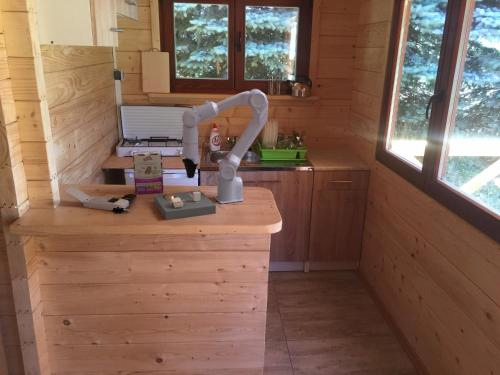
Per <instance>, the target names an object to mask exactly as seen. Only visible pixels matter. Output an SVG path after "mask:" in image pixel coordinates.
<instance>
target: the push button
mask: <svg viewBox="0 0 500 375" xmlns="http://www.w3.org/2000/svg"><path fill="white" fill-rule="evenodd" d="M165 194H166V195H165V200H167V199H171V198H175V195H173V194H170V193H165Z"/></svg>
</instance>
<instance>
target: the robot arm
mask: <svg viewBox="0 0 500 375" xmlns="http://www.w3.org/2000/svg"><path fill="white" fill-rule="evenodd" d="M239 105H240V106H245V107H249V106H250V108H251V112H252V116H253V118H252V119H251V121H250V122H249V124H248V125H247V126H246V128H245V130H244V131H243V133H242V134H241V135H240V137H239V139H238V140H237V142H236V143H235V144H234V147H232V149H231V151H230V152H229V153H227V155H226V156H225V157H224V158H222V159H221V160H220V161H219V162H218V169H219V170H218V175H217V191H216V192H217V194H216V195H214V196H213V199H215V200H216V201H217V202H218V203H219V204H221V205H222V204H229V203H231V204H232V203H237V202H243V201H244V199H243V194H244V193H243V191H244V190H243V188H244V185H243V179H242V177H240V176H237V170H238V168H239V166H240V164H241V161H242V159H243V157H244V156H245V155H246V153H247V151H249V149H250V147H251V146H252V144H253V143H254V141H255V139H256V138H257V137H258V135H259V133H260V132H261V131H262V129H263V128H264V126H265V125H266V123H267V122H268V117H269V116H268V114H269V100H268V98H267V95H266V94H265V93H264V92H262V90H260V89H257V88H253V89H251V90H250V91H249V90H246V91H243V92H240V93H237V94H235V95H232V96H230V97H228V98H225V99H223V100H220V101H218V102H214V101H209V100H206V101H204V103H203V104H200V105H198V106H195V105H194V106H192V109H191V108H189V109H186V110H184V111H183V113H182V116H181V121H182V123H183V124H182V150H181V153H180V154H179V157H180V158H181V161H182V163H183V165H184V169H185V172H186V177H187V179H195V178H194V177H195V175H196V169H197V168H198V166H199V164H200V163H201V162H200V161H201V158H200V155H199V130H198V123H203V122H206V121H208V120H211V119H214V118H216V117H218V115H219V113H220V112H222V111H225V110H228V109H231V108H235V107H236V106H239Z"/></svg>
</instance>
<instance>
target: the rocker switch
mask: <svg viewBox="0 0 500 375" xmlns="http://www.w3.org/2000/svg"><path fill="white" fill-rule="evenodd" d="M171 201H172V204H173V205H174V207H175V208H176V207H183V203H182V201H181V199H180V198H179V197H177V198H171Z"/></svg>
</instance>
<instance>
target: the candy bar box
mask: <svg viewBox="0 0 500 375" xmlns="http://www.w3.org/2000/svg"><path fill="white" fill-rule="evenodd" d="M132 163H133V164H132V165H133V179H134V180H133V182H134V194H135V195H149V194H150V195H151V194H164V179H163V178H164V174H163V173H164V172H163V171H164V170H163V154H162V151H161V150H156V151H155V150H154V151H149V150H148V151H133V152H132Z"/></svg>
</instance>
